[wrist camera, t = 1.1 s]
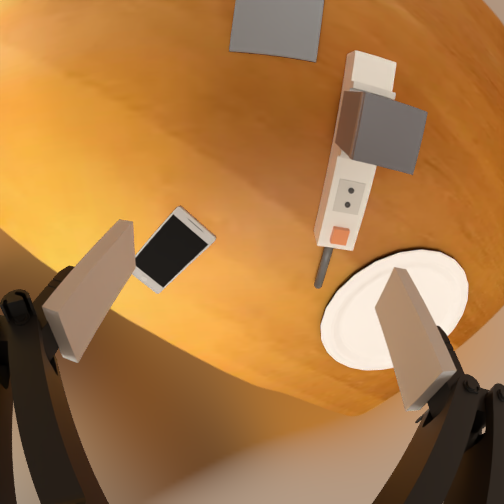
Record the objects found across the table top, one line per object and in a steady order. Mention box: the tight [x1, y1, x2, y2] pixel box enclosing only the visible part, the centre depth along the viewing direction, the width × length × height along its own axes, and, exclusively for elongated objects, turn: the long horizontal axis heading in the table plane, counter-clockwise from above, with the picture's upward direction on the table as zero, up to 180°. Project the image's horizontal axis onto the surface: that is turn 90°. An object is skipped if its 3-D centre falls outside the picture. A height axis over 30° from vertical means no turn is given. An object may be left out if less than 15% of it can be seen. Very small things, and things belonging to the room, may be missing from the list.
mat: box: [229, 0, 324, 62], centre depth 26 cm, size 10×10×1 cm
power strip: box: [314, 50, 396, 289], centre depth 34 cm, size 33×5×5 cm, turn 173°
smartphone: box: [132, 206, 216, 294], centre depth 44 cm, size 7×15×1 cm, turn 135°
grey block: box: [335, 91, 428, 175], centre depth 25 cm, size 6×6×8 cm
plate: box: [321, 249, 468, 370], centre depth 47 cm, size 29×29×2 cm
